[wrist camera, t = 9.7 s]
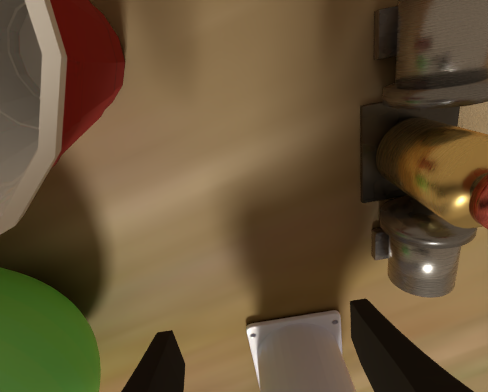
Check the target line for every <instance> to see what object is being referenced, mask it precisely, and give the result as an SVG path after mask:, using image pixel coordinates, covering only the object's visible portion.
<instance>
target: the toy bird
mask: <svg viewBox="0 0 488 392" xmlns="http://www.w3.org/2000/svg"><path fill="white" fill-rule="evenodd" d="M99 387H100V357H99V351H98V346H97V342H96V339H95V336H94V334H93V331H92V329H91V327H90V325H89V323H88V322H87V320H86V318H85V317H84V315H83V314H82V313H81V312H80V310H79V309H78V308H77V307H76V306H75V305H74V304H73V303H72V302H71V301H70V300H69V299H68V298H66V297H65V296H64V295H63V294H61V293H60V292H58V291H57V290H55V289H54V288H52V287H51V286H49V285H47V284H45V283H43V282H41V281H39V280H37V279H35V278H32V277H30V276H27V275H25V274H22V273H19V272H16V271H12V270H8V269H4V268H0V392H99Z"/></svg>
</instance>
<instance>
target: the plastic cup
mask: <svg viewBox="0 0 488 392" xmlns="http://www.w3.org/2000/svg"><path fill="white" fill-rule="evenodd" d="M124 68H125V60H124V56H123V52H122V48H121V45H120V41H119V38H118V36H117V35H116V33H115V32H114V30H113V29H112V27H111V25H110V24H109V22H108V21H107V19H106V18H105V16H104V15H103V14H102V13H101V12H100V11H99V10H98V9H97V8H96V7H94V6H93V5H92V4H91V2H90V1H89V0H0V235H1V234H2V233H4V232H6V231H7V230H9V229H11V228H12V227H14V226H16V224H17V223H18V222H19V221H20V219H21V218H22V217H23V216H24V214H25V212H26V211H27V209H28V207H29V205H30V204H31V202H32V200H33V199H34V197H35V195H36V193H37V192H38V190H39V188H40V186H41V185H42V183H43V181H44V180H45V178H46V176H47V174H48V173H49V171H50V169H51V168H52V167H53V166H54V165H55V164H56V163H57V162H58V160H59V158H60V156H61V155H62V154H63V153H64V152H65V151H66V150H67V149H68V148H69V147H70V146H71V145H72V144H73V143H74V142H75V141H76V140H77V139H78V138H79V137H80V136H81V135H82V134H83V133H85V132H86V131H87V130H88V129H89V128H90V127H91V126H92V125H93V124H94V123H95V122H96V121H97V120H98V119H99V118H100V117H101V115H102V114H103V112H104V110H105V109H106V108H107V107H108V106H109V105H110V104H111V103H112V102H113V100H114V99H115V97H116V95H117V94H118V92H119V90H120V89H121V87H122V85H123V77H124Z"/></svg>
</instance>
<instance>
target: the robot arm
mask: <svg viewBox="0 0 488 392" xmlns="http://www.w3.org/2000/svg"><path fill="white" fill-rule="evenodd" d="M350 312H351V338H352V341H353V344H354V346H355V349H356V352H357V355H358V357H359V360H360V363H361V365H362V367H363V369H364V371H365V373H366V375H367V377H368V380H369V382H370V384H371V386H372V388H373V390H374V392H474V391H472V390H471V389H469V388H468V387H467V386H465V385H464V384H463V383H461V382H460V381H459V380H457V379H456V378H455V377H453V376H452V375H451V374H449V373H448V372H447V371H446V370H444V369H443V368H442V367H440V366H439V365H438V364H437V363H436V362H434V361H433V360H432V359H431V358H430V357H428V356H427V355H426V354H425V353H424V352H422V351H421V350H420V349H419V348H418V347H417V346H415V345H414V344H413V343H412V342H411V341H410V340H409V339H408V338H407V337H405V336H404V335H403V334H402V333H401V332H400V331H399V330H398V329H397V328H396V327H395V326H394V325H392V324H391V323H390V322H389V321H388V320H387V319H386V318H385V317H384V316H383V315H382V314H381V313H380V312H379V311H378V310H377V309H376V308H375V307H374V306H373V305H372V304H371V303H370V302H369V301H368V300H367V299H360V300H354V301H350ZM333 320H334V321H333ZM246 332H247V336H248V340H249V345H250V349H251V353H252V357H253V361H254V366H255V370H256V374H257V378H258V383H259V387H260V392H356V390H355V387H354V385H353V382H352V380H351V377H350V375H349V372H348V369H347V367H346V364H345V362H344V359H343V356H342V336H341V316H340V314H339V312H338V311H336V310H332V311H326V312H320V313H313V314H307V315H301V316H295V317H289V318H283V319H277V320H270V321H264V322H258V323H252V324H249V325H247V327H246ZM252 333H254V334H252ZM184 376H185V362H184V360H183V357H182V354H181V352H180V349H179V347H178V344H177V341H176V339H175V336H174V334H173V331H172V330H171V331H165V332H158V333H157V334H156V335H155V337H154V339H153V340H152V342H151V344H150V346H149V347H148V349H147V351H146V352H145V354H144V356H143V358H142V359H141V361H140V363H139V364H138V366H137V368H136V369H135V371H134V372H133V374H132V376H131V377H130V379H129V380H128V382H127V384H126V385H125V387H124V388H123V390H122V391H121V392H183V390H184Z"/></svg>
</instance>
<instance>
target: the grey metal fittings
mask: <svg viewBox="0 0 488 392" xmlns="http://www.w3.org/2000/svg"><path fill="white" fill-rule="evenodd" d="M393 56H396V79H395V83H394V84H391V85H388V86H386V87H384V88H383V102H380V103H374V104H369V105H364V106H360V118H361V202H362V203H367V202H372V201H378V200H384V199H390V198H395V197H399V198H395V199H392V200H390V201H388V202H386V203H385V204H384V205H383V206H382V207H381V209H380V226H381V228H377V229H372V257H373V258H374V259H375V260H380V259H386V258H388V276H389V279H390V280H391V281H392V283H393V284H394V285H396V286H397V287H398V288H400V289H401V290H403V291H405V292H407V293H410V294H413V295H416V296H421V297H440V296H443V295H446V294H448V293H450V292H451V291H452V290H453V288H454V286H455V280H456V274H457V268H458V262H459V255H460V249H461V246H462V245H465V244H467V243H469V242H470V241H472V240H473V239H474V238H475V236H476V232H477V228H460V227H456V226H454V225H452V224H450V223H448V222H447V221H445V220H444V219H443V218H441V217H440V216H438V215H437V214H435V213H434V212H432V211H431V210H430V209H428V208H427V207H425V206H424V205H422V204H421V203H420V202H418V201H417V200H415V199H414V198H412V197H411V196H407V195H408V194H407V193H405V192H404V191H402V190H401V189H399V188H398V187H396V186H395V185H394V184H392V183H391V182H389V181H388V180H386V179H385V178H384V177H383V176H382V175H381V174H380V172H379V170H378V168H377V164H376V153H377V149H378V146H379V144H380V142H381V140H382V138H383V137H384V135H385V134H386V133H387V132H388V131H389V130H390V129H391V128H392V127H394V126H395V125H396V124H398V123H400V122H402V121H404V120H407V119H410V118H425V119H429V120H433V121H437V122H441V123H445V124H449V125H453V126H456V127H457V124H458V116H459V109H460V106H467V105H473V104H478V103H483V102H487V101H488V0H399V5H398V6H396V7H391V8H385V9H380V10H377V11H375V12H374V59H383V58H388V57H393ZM401 196H403V197H401Z"/></svg>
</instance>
